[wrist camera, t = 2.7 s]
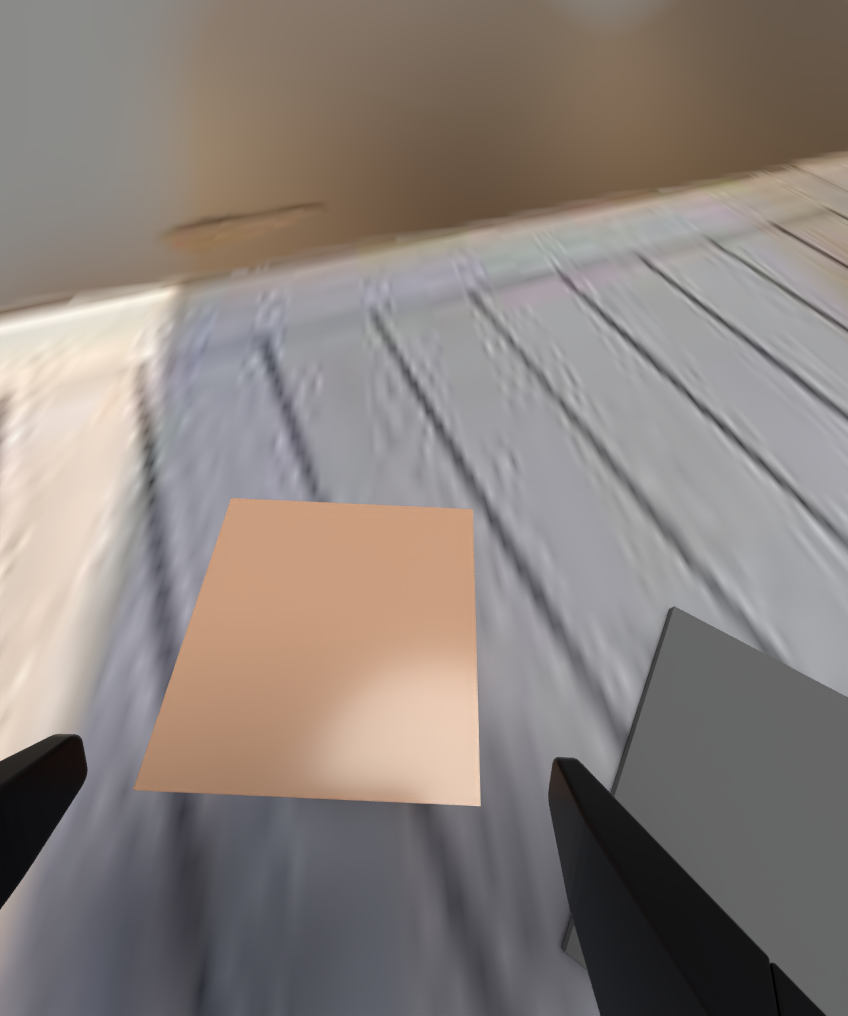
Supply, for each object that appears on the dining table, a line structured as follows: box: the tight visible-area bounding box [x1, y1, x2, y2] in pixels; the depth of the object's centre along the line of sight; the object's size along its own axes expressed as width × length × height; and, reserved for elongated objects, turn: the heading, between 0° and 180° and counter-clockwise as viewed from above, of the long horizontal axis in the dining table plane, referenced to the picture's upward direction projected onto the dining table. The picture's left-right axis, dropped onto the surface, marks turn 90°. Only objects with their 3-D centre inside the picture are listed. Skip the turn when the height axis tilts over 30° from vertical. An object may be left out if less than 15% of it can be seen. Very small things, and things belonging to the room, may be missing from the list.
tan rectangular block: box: [133, 498, 481, 806], centre depth 13 cm, size 6×6×11 cm
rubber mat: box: [562, 606, 848, 1016], centre depth 15 cm, size 14×14×1 cm
